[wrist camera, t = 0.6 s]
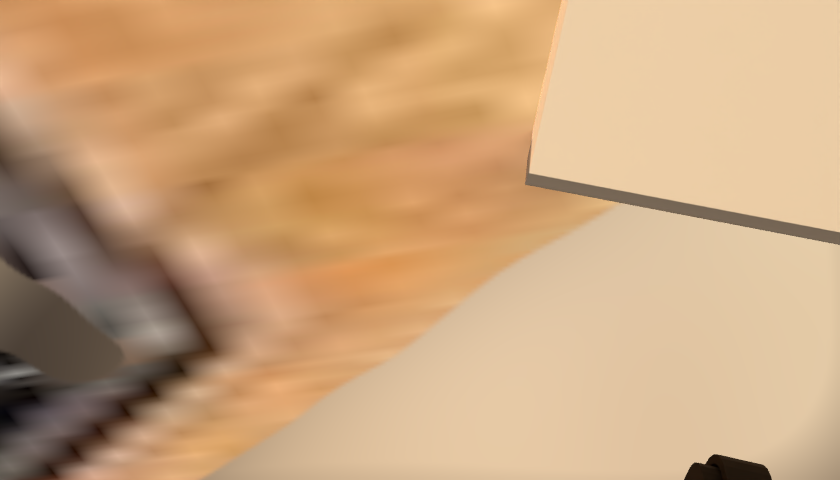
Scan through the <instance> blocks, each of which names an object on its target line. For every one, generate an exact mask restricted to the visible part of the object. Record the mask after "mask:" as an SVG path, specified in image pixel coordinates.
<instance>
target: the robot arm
mask: <svg viewBox="0 0 840 480" xmlns="http://www.w3.org/2000/svg"><path fill="white" fill-rule="evenodd" d="M684 480H772V479H771V476H770V473H769V471H768V469H767V468H766V467H765V466H764V465H761V464H757V463H752V462H748V461H743V460H739V459H735V458H730V457H726V456H722V455H715V454H714V455H712V456H711V457H710V458H709V459H708V461H707V462H706V464H701V463H694V464H692V465H691V467H690V469H689V470H688V473H687V475H686V477H685V479H684Z"/></svg>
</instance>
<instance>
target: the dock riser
mask: <svg viewBox="0 0 840 480" xmlns="http://www.w3.org/2000/svg"><path fill="white" fill-rule="evenodd" d="M525 185H530V186H536V187H541V188H546V189H551V190H556V191H562V192H567V193H572V194H577V195H583V196H588V197H593V198H598V199H603V200H609V201H614V202H619V203H625V204H630V205H635V206H640V207H645V208H651V209H656V210H661V211H666V212H671V213H677V214H682V215H687V216H692V217H697V218H703V219H708V220H713V221H718V222H724V223H729V224H734V225H740V226H745V227H750V228H755V229H760V230H765V231H771V232H776V233H781V234H786V235H792V236H797V237H802V238H807V239H812V240H818V241H823V242H828V243H834V244H838V245H840V0H562V2H561V6H560V11H559V15H558V20H557V24H556V29H555V33H554V38H553V42H552V47H551V51H550V55H549V60H548V64H547V69H546V73H545V78H544V82H543V87H542V91H541V96H540V100H539V105H538V109H537V114H536V118H535V123H534V127H533V134H532V141H531V145H530V150H529V154H528V160H527V171H526V181H525Z"/></svg>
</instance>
